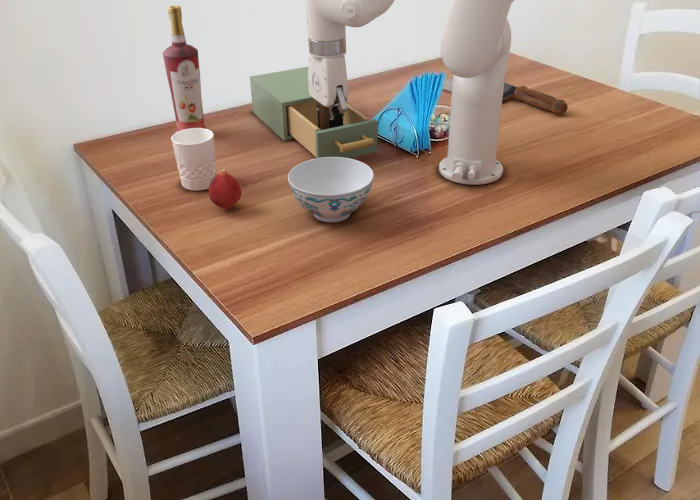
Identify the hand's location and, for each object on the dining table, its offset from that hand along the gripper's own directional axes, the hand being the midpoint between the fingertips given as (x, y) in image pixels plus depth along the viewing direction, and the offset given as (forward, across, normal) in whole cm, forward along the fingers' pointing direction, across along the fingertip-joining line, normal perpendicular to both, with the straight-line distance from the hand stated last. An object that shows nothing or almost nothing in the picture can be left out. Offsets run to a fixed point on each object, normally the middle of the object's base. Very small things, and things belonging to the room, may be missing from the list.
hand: (330, 130), depth 151 cm
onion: (+4, +16, -29) cm, 33 cm away
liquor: (+4, -21, -25) cm, 33 cm away
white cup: (+4, +3, -30) cm, 31 cm away
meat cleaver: (+4, -6, +49) cm, 49 cm away
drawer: (+3, +2, 0) cm, 3 cm away
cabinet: (+4, -18, 0) cm, 18 cm away
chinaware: (+4, +26, -13) cm, 29 cm away
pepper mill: (+2, 0, 0) cm, 2 cm away
